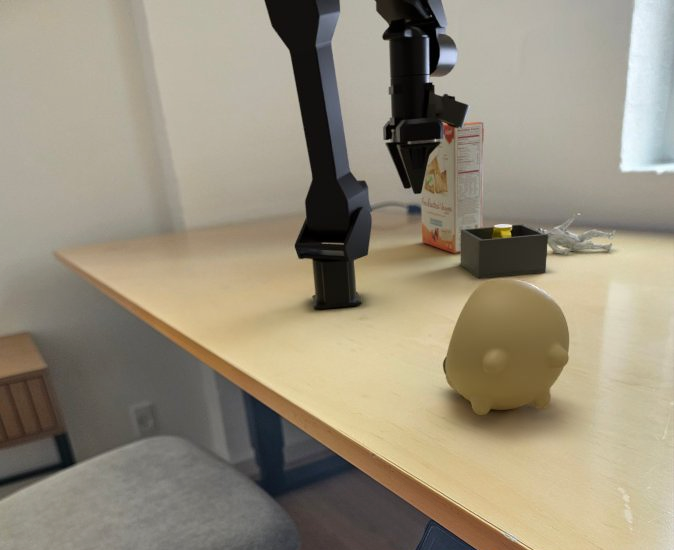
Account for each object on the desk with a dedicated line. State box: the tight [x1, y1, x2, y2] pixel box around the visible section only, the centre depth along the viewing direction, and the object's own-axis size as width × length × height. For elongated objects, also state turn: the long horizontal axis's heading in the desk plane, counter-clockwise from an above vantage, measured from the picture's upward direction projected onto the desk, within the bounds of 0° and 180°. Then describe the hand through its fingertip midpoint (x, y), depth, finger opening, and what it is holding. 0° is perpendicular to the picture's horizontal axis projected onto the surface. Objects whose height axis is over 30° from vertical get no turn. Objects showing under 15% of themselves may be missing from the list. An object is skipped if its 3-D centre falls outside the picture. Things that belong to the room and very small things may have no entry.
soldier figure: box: [537, 212, 616, 255], centre depth 110 cm, size 8×5×12 cm
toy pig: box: [442, 277, 570, 416], centre depth 54 cm, size 10×12×11 cm
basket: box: [460, 223, 548, 280], centre depth 102 cm, size 11×10×6 cm
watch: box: [492, 223, 513, 239], centre depth 102 cm, size 6×3×6 cm, turn 6°
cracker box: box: [420, 121, 485, 254], centre depth 118 cm, size 14×6×21 cm, turn 17°
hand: (412, 191), depth 103 cm, fingers open, 9 cm apart
